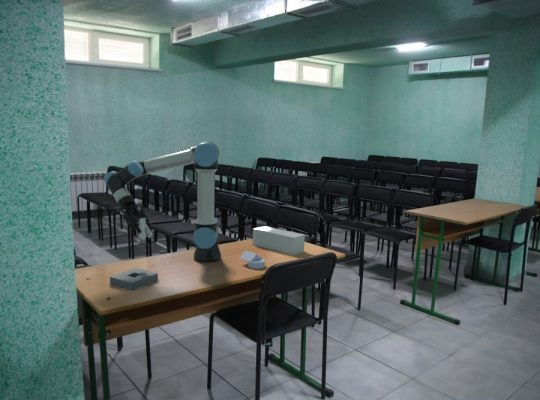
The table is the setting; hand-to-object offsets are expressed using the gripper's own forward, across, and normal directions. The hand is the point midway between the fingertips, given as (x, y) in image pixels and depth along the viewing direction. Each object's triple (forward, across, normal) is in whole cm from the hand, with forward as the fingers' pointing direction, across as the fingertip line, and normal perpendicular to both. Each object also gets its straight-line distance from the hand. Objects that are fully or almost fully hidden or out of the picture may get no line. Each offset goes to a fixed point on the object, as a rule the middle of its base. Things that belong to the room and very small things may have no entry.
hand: (147, 237), depth 211 cm
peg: (-1, 0, -5) cm, 5 cm away
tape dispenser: (+37, -43, +12) cm, 58 cm away
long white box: (+33, -80, +7) cm, 87 cm away
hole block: (+16, +12, -10) cm, 22 cm away
